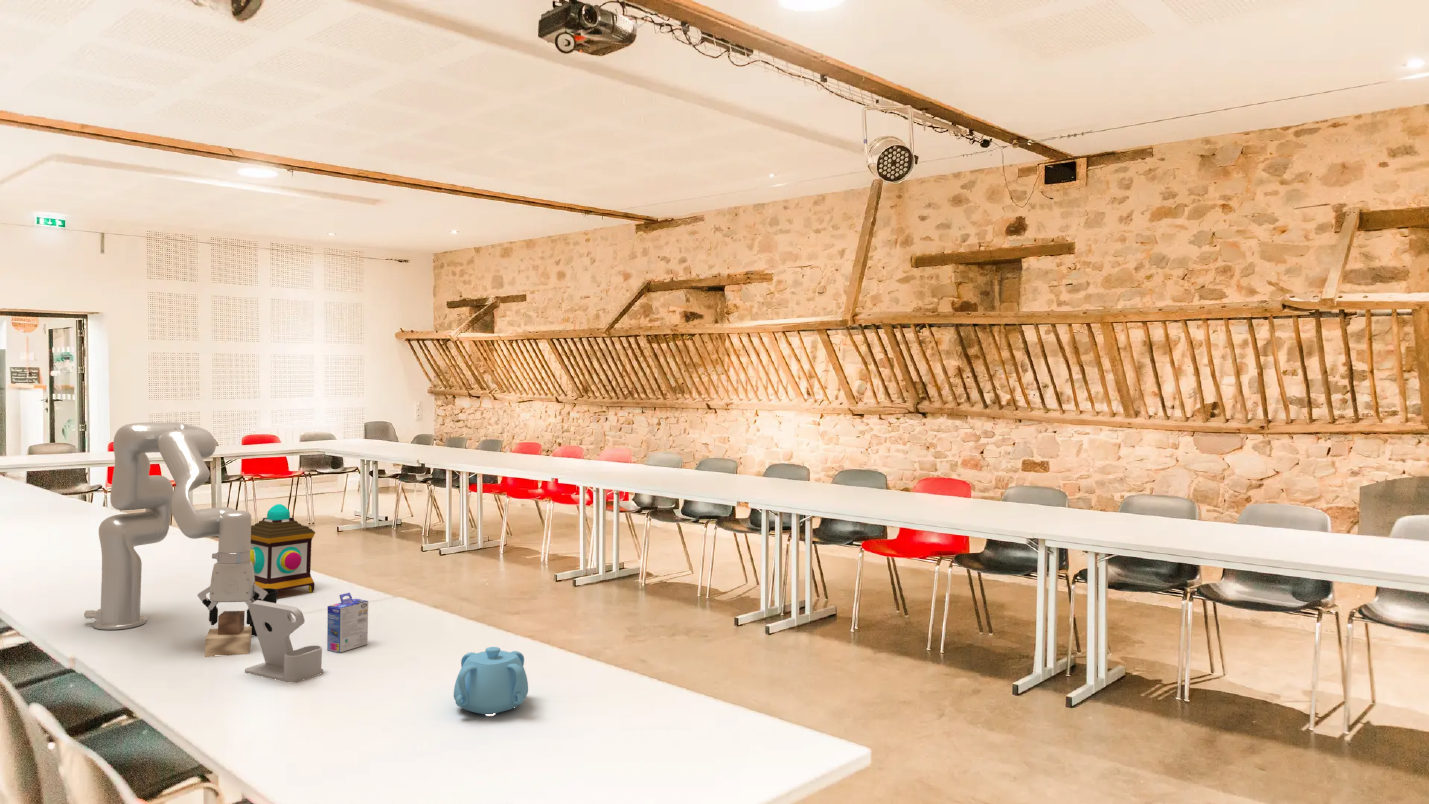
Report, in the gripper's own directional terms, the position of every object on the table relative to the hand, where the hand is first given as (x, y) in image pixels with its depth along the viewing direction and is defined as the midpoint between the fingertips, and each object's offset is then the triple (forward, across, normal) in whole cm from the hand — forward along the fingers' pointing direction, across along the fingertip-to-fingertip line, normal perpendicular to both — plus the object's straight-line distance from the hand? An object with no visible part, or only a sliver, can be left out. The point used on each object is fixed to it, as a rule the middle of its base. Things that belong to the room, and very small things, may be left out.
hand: (231, 623), depth 237 cm
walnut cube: (+2, 0, 0) cm, 2 cm away
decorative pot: (+7, +67, -52) cm, 85 cm away
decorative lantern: (+7, -3, +65) cm, 65 cm away
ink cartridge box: (+7, +29, -1) cm, 30 cm away
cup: (+7, +4, +15) cm, 17 cm away
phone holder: (+7, +17, -21) cm, 28 cm away
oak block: (+7, 0, 0) cm, 7 cm away
